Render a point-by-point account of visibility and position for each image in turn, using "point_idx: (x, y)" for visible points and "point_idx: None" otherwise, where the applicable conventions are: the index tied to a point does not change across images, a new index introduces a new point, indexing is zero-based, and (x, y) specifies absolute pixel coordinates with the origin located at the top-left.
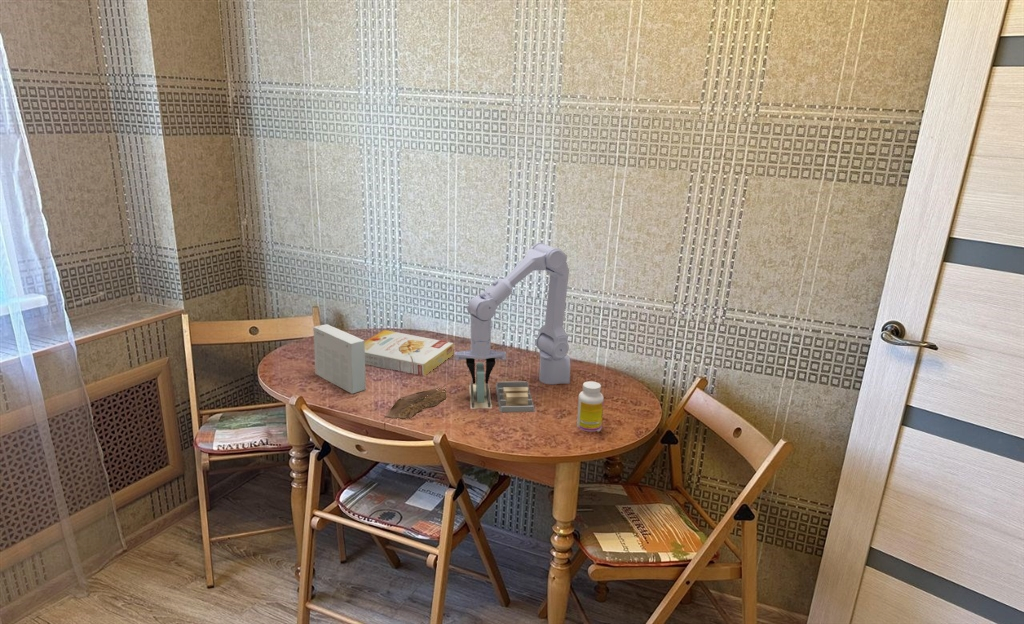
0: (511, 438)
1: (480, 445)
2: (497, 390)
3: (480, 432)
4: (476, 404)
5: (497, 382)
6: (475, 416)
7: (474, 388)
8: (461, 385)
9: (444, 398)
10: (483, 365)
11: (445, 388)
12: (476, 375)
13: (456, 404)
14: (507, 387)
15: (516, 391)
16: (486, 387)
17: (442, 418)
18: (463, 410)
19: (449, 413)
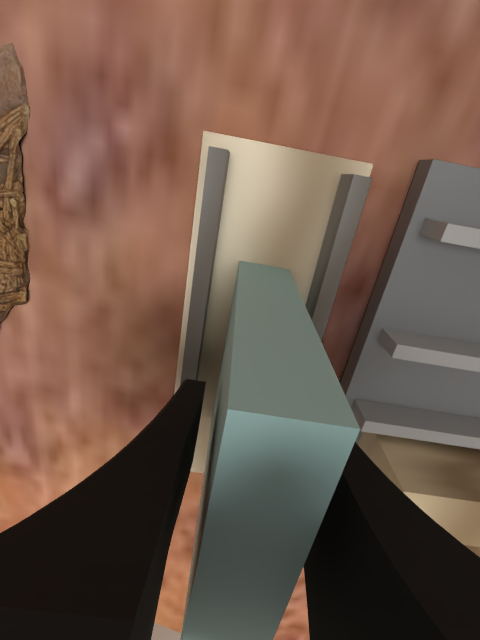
0: (284, 618)
1: (175, 628)
2: (391, 294)
3: (187, 579)
4: (203, 438)
5: (442, 226)
6: (187, 489)
7: (233, 221)
8: (146, 63)
9: (17, 299)
10: (319, 524)
11: (5, 119)
12: (227, 358)
13: (99, 370)
14: (432, 498)
15: (461, 539)
16: (315, 298)
17: (34, 478)
18: (135, 434)
19: (64, 447)
